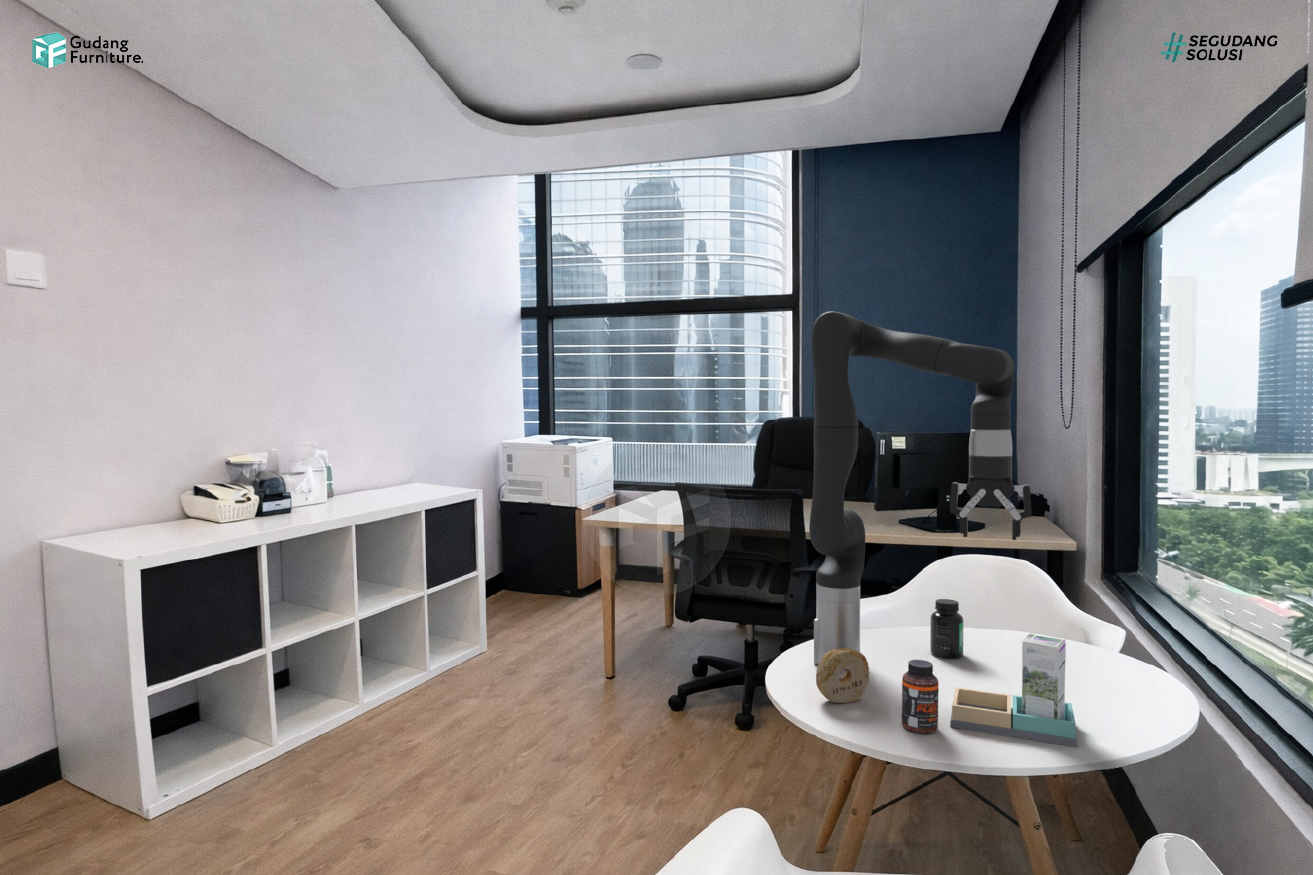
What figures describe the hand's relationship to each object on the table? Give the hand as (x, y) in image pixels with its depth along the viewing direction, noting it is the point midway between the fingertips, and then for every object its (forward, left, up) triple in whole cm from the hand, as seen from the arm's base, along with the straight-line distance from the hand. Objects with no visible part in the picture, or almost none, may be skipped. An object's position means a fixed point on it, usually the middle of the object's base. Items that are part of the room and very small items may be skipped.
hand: (989, 537), depth 145 cm
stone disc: (-25, -15, -30) cm, 42 cm away
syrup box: (+9, -14, -29) cm, 34 cm away
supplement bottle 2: (-9, +21, -30) cm, 38 cm away
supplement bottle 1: (-10, -22, -30) cm, 39 cm away
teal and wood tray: (+4, -14, -30) cm, 34 cm away
